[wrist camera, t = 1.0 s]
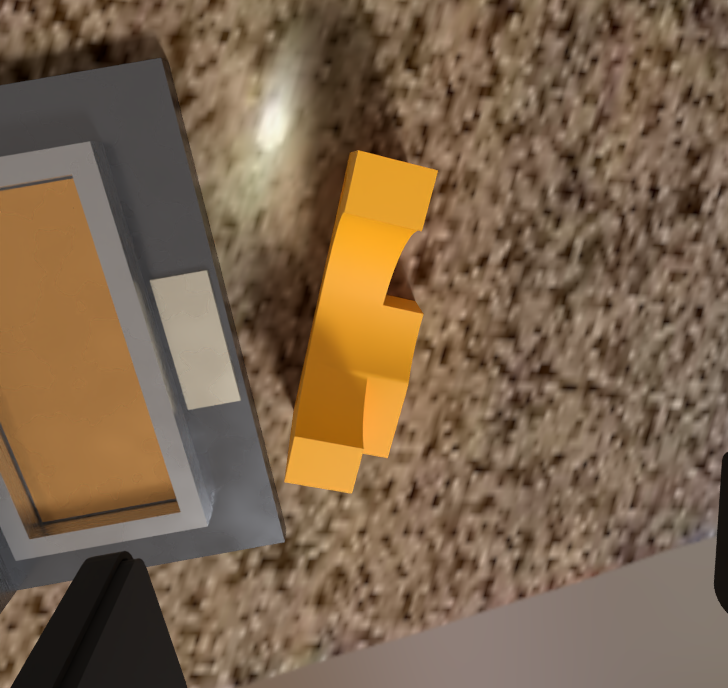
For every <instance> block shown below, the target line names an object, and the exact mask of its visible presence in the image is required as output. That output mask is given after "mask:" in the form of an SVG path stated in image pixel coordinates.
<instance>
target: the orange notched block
mask: <svg viewBox="0 0 728 688" xmlns="http://www.w3.org/2000/svg"><path fill="white" fill-rule="evenodd" d="M437 172H438V170H434V169H430V168H426V167H422V166H418V165H414V164H410V163H406V162H402V161H398V160H394V159H391V158H387V157H383V156H379V155H375V154H371V153H367V152H363V151H359V150H357V151H354V152H350V155H349V159H348V164H347V168H346V173H345V178H344V182H343V187H342V191H341V196H340V200H339V205H338V210H337V214H336V219H335V223H334V228H333V232H332V237H331V242H330V246H329V251H328V255H327V260H326V264H325V269H324V274H323V278H322V283H321V287H320V292H319V297H318V301H317V306H316V310H315V315H314V319H313V324H312V329H311V333H310V338H309V342H308V347H307V351H306V356H305V361H304V365H303V370H302V374H301V379H300V383H299V388H298V393H297V397H296V402H295V406H294V412H293V419H292V427H291V435H290V443H289V450H288V458H287V466H286V474H285V481H284V482H287V483H293V484H298V485H304V486H310V487H316V488H322V489H328V490H334V491H340V492H346V493H352V491H353V488H354V484H355V480H356V476H357V473H358V469H359V465H360V461H361V458H362V454H368V455H374V456H379V457H385V458H388V455H389V451H390V448H391V444H392V441H393V437H394V434H395V430H396V427H397V423H398V420H399V416H400V412H401V409H402V405H403V402H404V398H405V395H406V391H407V388H408V383H409V376H410V370H411V364H412V358H413V353H414V349H415V344H416V340H417V336H418V332H419V328H420V324H421V321H422V317H423V312H422V311H421V309H420V308H419V306H418V305H417V303H416V301H413V300H408V299H404V298H399V297H395V296H390V295H386V293H387V290H388V287H389V283H390V280H391V277H392V275H393V272H394V269H395V266H396V264H397V261H398V259H399V257H400V255H401V252H402V250H403V248H404V246H405V244H406V243H407V241H408V240H409V238H410V237H411V235H412V234H413V233H414V232H416V231H422V229H423V225H424V221H425V217H426V214H427V210H428V206H429V202H430V199H431V195H432V191H433V187H434V184H435V180H436V176H437Z"/></svg>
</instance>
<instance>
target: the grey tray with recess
mask: <svg viewBox="0 0 728 688" xmlns="http://www.w3.org/2000/svg"><path fill="white" fill-rule="evenodd" d="M285 535H286V527H285V523H284V519H283V515H282V511H281V507H280V503H279V499H278V495H277V491H276V487H275V483H274V479H273V475H272V471H271V467H270V463H269V459H268V455H267V452H266V448H265V444H264V440H263V436H262V432H261V428H260V424H259V420H258V416H257V412H256V408H255V404H254V400H253V396H252V392H251V388H250V384H249V380H248V376H247V372H246V368H245V364H244V360H243V356H242V352H241V348H240V344H239V340H238V336H237V332H236V328H235V325H234V321H233V317H232V313H231V309H230V305H229V301H228V297H227V293H226V289H225V285H224V281H223V277H222V273H221V269H220V265H219V261H218V257H217V253H216V249H215V245H214V241H213V237H212V233H211V229H210V225H209V221H208V217H207V213H206V209H205V205H204V202H203V198H202V194H201V190H200V186H199V182H198V178H197V174H196V170H195V166H194V162H193V158H192V154H191V150H190V146H189V142H188V138H187V134H186V130H185V126H184V122H183V118H182V114H181V110H180V106H179V102H178V98H177V94H176V90H175V86H174V82H173V78H172V75H171V71H170V67H169V63H168V62H167V61H166V60H164V59H162V58H157V59H151V60H145V61H139V62H134V63H128V64H122V65H116V66H110V67H105V68H99V69H93V70H87V71H81V72H75V73H70V74H64V75H58V76H52V77H46V78H41V79H35V80H29V81H23V82H17V83H11V84H6V85H0V613H1V612H2V611H3V609H4V608H5V606H6V605H7V604H8V602H9V601H10V599H11V598H12V597H13V595H14V594H15V592H16V591H17V590H21V589H27V588H32V587H38V586H43V585H49V584H55V583H60V582H66V581H71V580H73V579H74V578H75V576H76V574H77V572H78V571H79V569H80V567H81V565H82V564H83V563H84V561H85V560H86V559H87V558H90V557H93V556H99V555H104V554H110V553H116V552H121V551H127V552H129V553H130V554H131V555H132V557H133V559H137V558H140V559H142V560H143V561H144V563H145V565H146V567H149V566H154V565H160V564H165V563H171V562H176V561H182V560H187V559H193V558H199V557H204V556H210V555H215V554H221V553H226V552H232V551H237V550H243V549H248V548H254V547H259V546H265V545H271V544H276V543H282V542H285Z"/></svg>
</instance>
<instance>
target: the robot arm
mask: <svg viewBox="0 0 728 688" xmlns="http://www.w3.org/2000/svg"><path fill="white" fill-rule="evenodd" d="M714 589H715V593H716V596H717V598H718V601H719V602H720V604H721V606H722V607H723V608H724V610H725V611H726V612H727V613H728V452H727V453H725V454H724V456H723V459H722V469H721V484H720V499H719V514H718V529H717V545H716V561H715V575H714ZM11 688H187V685H186V681H185V679H184V676H183V673H182V670H181V667H180V664H179V661H178V658H177V655H176V652H175V649H174V647H173V644H172V641H171V638H170V635H169V632H168V629H167V626H166V623H165V620H164V618H163V615H162V612H161V609H160V606H159V603H158V600H157V597H156V594H155V591H154V588H153V586H152V583H151V580H150V577H149V574H148V571H147V568H146V565H145V563H144V561H143V560H142V559H140V558H137V559H133V557H132V555H131V554H130V553H129V552H127V551H121V552H116V553H110V554H104V555H99V556H93V557H90V558H87V559H86V560H85V561H84V563H83V564H82V565H81V567H80V569H79V571H78V572H77V574H76V576H75V578H74V579H73V581H72V583H71V584H70V586H69V588H68V590H67V591H66V593H65V595H64V596H63V598H62V600H61V602H60V603H59V605H58V607H57V608H56V610H55V612H54V614H53V615H52V617H51V619H50V621H49V622H48V624H47V626H46V627H45V629H44V631H43V633H42V634H41V636H40V638H39V639H38V641H37V643H36V645H35V646H34V648H33V650H32V651H31V653H30V655H29V657H28V658H27V660H26V662H25V664H24V665H23V667H22V669H21V670H20V672H19V674H18V676H17V677H16V679H15V681H14V682H13V684H12V686H11Z"/></svg>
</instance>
